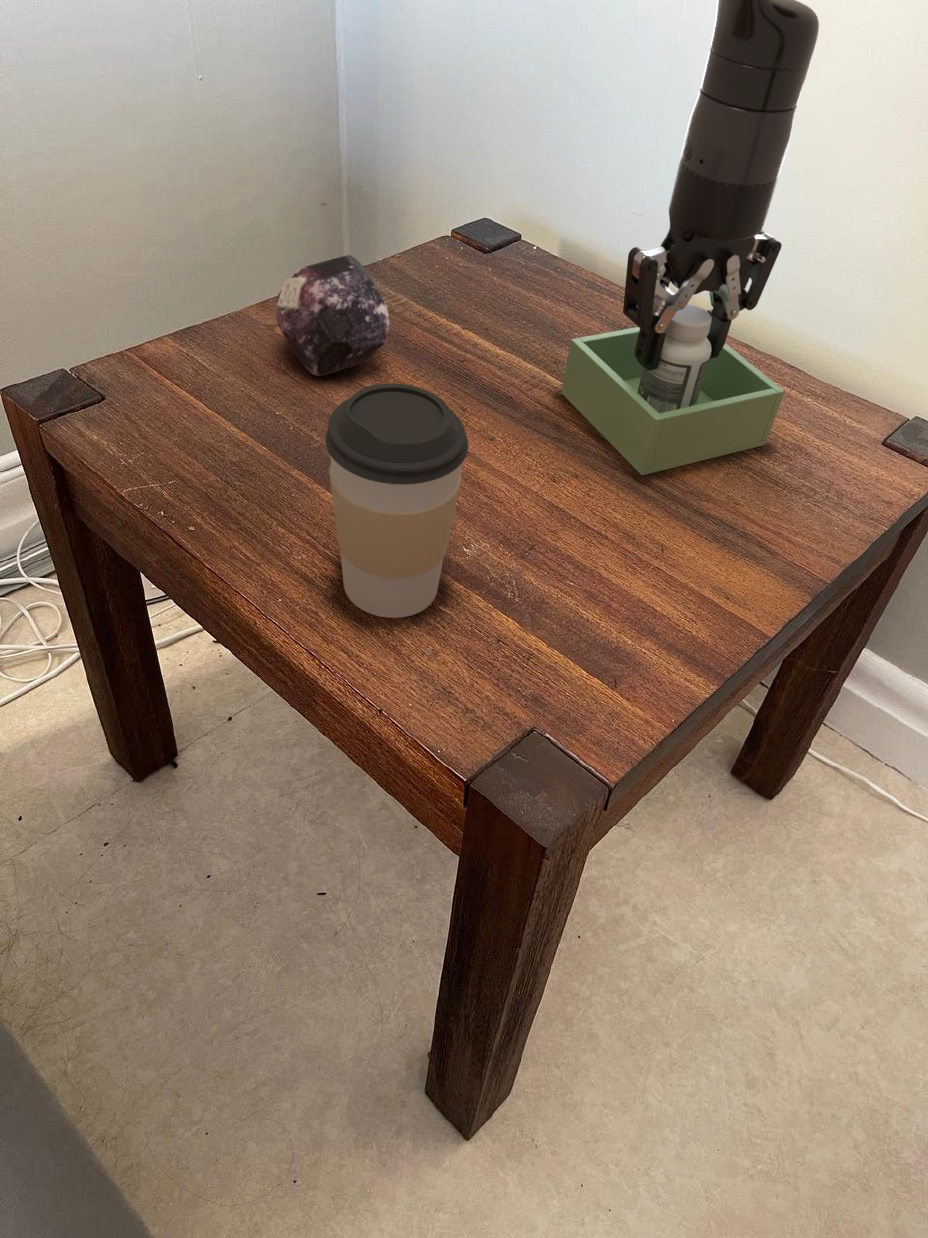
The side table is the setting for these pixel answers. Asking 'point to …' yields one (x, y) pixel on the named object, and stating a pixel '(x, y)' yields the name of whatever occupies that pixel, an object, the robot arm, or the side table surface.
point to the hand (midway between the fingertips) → (677, 359)
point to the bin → (717, 425)
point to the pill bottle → (679, 362)
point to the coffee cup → (394, 494)
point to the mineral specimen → (332, 315)
